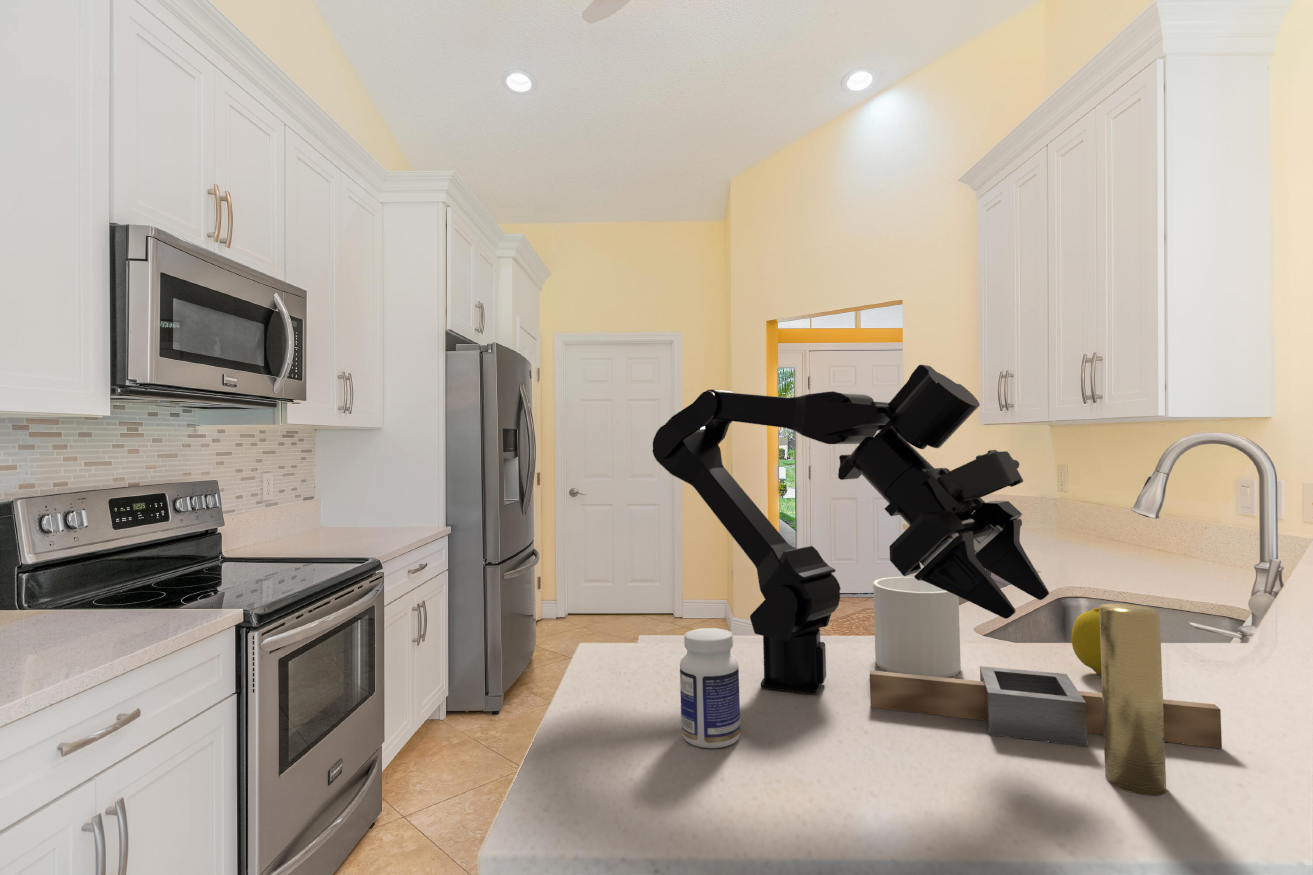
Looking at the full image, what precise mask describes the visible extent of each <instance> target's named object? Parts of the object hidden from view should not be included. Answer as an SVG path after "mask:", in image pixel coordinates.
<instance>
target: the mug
mask: <svg viewBox="0 0 1313 875" xmlns="http://www.w3.org/2000/svg"><path fill="white" fill-rule="evenodd" d="M872 584H873V586H872V587H873V614H874V615H873V617H874V619H873V620H874V621H873V622H874V652H875V653H874V654H875V655H874V656H875V658H874V659H875V663H876V665H877V666H878V667H879V668H880V669H881V668H882V669H881V670H883V671H884V672H892V673H903V674H913V675H923V676H933V677H943V678H953V677H955V676H957V675H958V674H959V673H960V671H962V669H961V668H962V666H961V637H960V636H961V634H960V633H961V632H960V629H961V628H960V606H959V605H960V604H959V602H960V600H959V598H960V597H959V596H957V595H954V594H952V593H950V592H948V591H945V590H943V589H941V588H939V587H936V586H934V585H932V584H929V583H927V582H925V581H922V580H920V581H918V580H917V579H915V578H914V576H893V577H891V576H890V577H883V578H878V579H876V580H874V581H873V583H872Z"/></svg>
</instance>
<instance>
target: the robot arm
mask: <svg viewBox="0 0 1313 875" xmlns="http://www.w3.org/2000/svg"><path fill="white" fill-rule="evenodd" d="M980 406H981V404H980V402H979V400H978V399H977V398H976V396H975V395H974V394H973V393H972V392H971V391H969V390H968V388H966V387H965V386H964V385H962V384H960V383H956V382H955V381H953V380H952V379H950V378H949V377H947V376H946V375H944V374H941V373H940V372H938V371H937V370H935V369H934V368H933V367H932V366H931V365H926V364H919V365H917V367H916V368H915V369H914V370H913V371H912V373H911V375H910V376H909V379H908V380H907V381H906V383H905V384H904V385H903V386H902V387H901V388H900V389H899V391H898V392H897V393H896V394H895V395H894V396H893V398H892V399H891V400H890V401H889V402H884V401H874V399H873V398H872V397H871V396H870V395H867V394H863V393H853V392H845V391H843V392H842V391H835V390H834V391H833V390H832V391H822V392H816V393H815V392H814V393H808V394H803V395H800V396H793V397H787V396H786V397H785V396H773V395H763V394H750V393H737V392H735V391H734V392H733V391H732V390H726V389H724V390H723V389H707V390H706V391H703V392H702V393H701V394H699V395H698V397H696V399H695V400H694V401H693V402H692V403H691V404H689V405H687V406H686V407H684V408H683V409H682V410H680V411H678V412H677V413H675V414H674V415H672V416H671V417H670V418H669V420H667V422H666V423H664V424H663V425H662V426H660V427H659V428H658V430H656V433H655V435H654V437H653V441H652V454H653V456H654V459H655V460H656V462H657V463H658V464H659V465H660V466H662V468H664V470H666V471H667V472H668V474H670V475H672V476H674V477H675V478H677V479H679V480H681V481H683V482H684V483H687V484H689V485H691V487H693V488H694V490H695V491H696V492H697V493H698V495H699V496H700V497H701V499H702V500H703V501H704V502H705V504H706V505H707V507H709V508H710V510H711V511H712V513H713V514H714V515H715V516H716V518H717V519H718V520H719V522H720V523H721V524H722V526H723V527H724V528H725V529H726V530H727V532H728V533H729V535H730V536H731V537H732V538H733V539H734V541H735V542H736V543H737V544H738V546H739V547H740V549H742V551H743V552H744V554H745V555H746V556H747V557H748V559H749V560H750V561H751V563H752V564H753V566H755V567H754V568H756V572H757V579H758V586H759V590H760V592H761V595H762V597H763V598H764V600H763V601H762V602H761V603H760V605H758V607H757V608H755V610H753V611H752V613H751V614H750V616H749V619H750V622H751V626H752V630H753V632H754V634H755V635H758V636H762V642H763V643H762V644H763V646H762V649H763V678H762V680H761V682H760V688H762V689H769V690H777V691H786V692H792V693H793V692H794V693H803V694H813V695H817V694H818V693H819V691H820V688H821V685H823V684H824V683H825V681H826V678H827V656H826V655H827V654H826V651H827V650H826V643H825V641H821V628H825V627H828V626H829V624H830V620H831V619H830V618H831V616H832V613H834V612H835V611H837V608H838V607H839V605H840V600H841V592H840V591H841V586H840V585H841V584H840V583H839V581H838V579H837V578H836V576H835V575H834V573H836V569H835V568H834V567H831V566H830V565H829V564H828V563H827V562H825V560H824V559H823V557H822V556H821V554H820V552H819V551H818V550H817V549H816V548H815V547H814V546H813V545H809V546H808V545H807V546H803V547H800V548H799V547H798V548H796V547H794V546H792V545H791V544H789V543H788V541H786V539H785V538H784V537H783V536H782V535H781V533H780V532H779V530H777V528H776V527H775V526H774V525H773V524H772V522H770V520H769V519H768V518H767V516H766V515H765V514H764V513H763V512H762V510H760V508H759V507H758V506H757V505H756V504H755V502H754V500H752V499H751V498H750V497H749V495H748V493H747V492H745V491H744V489H743V488H742V487H741V485H740V484H738V482H737V481H736V479H735V478H734V477H733V476H732V475H731V474H730V472H729V471H728V470H727V468H725V467H724V465H723V459H722V451H721V448H720V446H719V445H720V443H722V441H723V440H725V438H726V436H727V433H728V430H729V427H730V424H732V422H737V423H742V424H743V423H744V424H753V425H761V426H770V427H776V428H782V429H783V428H784V429H788V430H791V431H794V432H796V433H797V434H799V435H801V436H802V437H806V438H808V439H811V440H814V441H817V442H820V443H822V444H827V445H857V444H858V445H857V446H856V448H855V449H854V450H853V451H852V452H851V454H840V455H839V456H838V458H839V466H838V475H837V478H838V479H839V480H840V481H846V480H855V479H856V480H857V479H859V478H860V477H861V476H862V477H863V478H864V479H865V480H866V481H867V482H868V483H869V484H870V485H871V486H872V487H873V488H874V489H875V490H876V491H877V492H878V493H879V495H880V496H881V497H882V498H883V499H884V501H886V502H887V503H888V505H886V506H885V507H884V511H886V513H888V515H889V516H890V517H895V516H900V517H901V518H902V519H903V521H904V522H906V524H908V525H909V526H908V527H907V528H906V529H905V530H904V531H903V532H902V533H901V534H900V535H899V536H898V537H897V538H896V539H895V540H894V541H893V542H892V543H891V544H890V545H889V561H890V562H891V563H892V565H893V566H894V567H895V568H896V569H897V570H898V571H899V572H900V574H901V575H902V577H908V576H909V575H913V574H915V575H914V576H913V577H914V578H915V579H917V580H918V581H920V580H922V581H925V582H927V583H929V584H932V585H934V586H936V587H939V588H941V589H943V590H945V591H948V592H950V593H952V594H954V595H957V596H959V598H961V599H963V600H966V601H968V602H969V603H972V604H973V605H976V606H978V607H980V608H982V609H984V610H986V611H988V612H990V613H992V614H994V615H996V616H999V617H1001V618H1002V619H1006V620H1007V619H1009V618H1011V617H1012V616H1014V614H1015V613H1016V609H1015V607H1014V605H1013V604H1012V602H1011V601H1010V600H1009V598H1008V597H1007V596H1006V594H1005V592H1003V590H1002V589H1001V588H1000V587H999V585H998V584H997V582H996V581H995V580H994V579H993V577H992V576H991V575H990V574H989V573H988V572H990V573H992V574H993V575H995V576H996V577H999V578H1000V579H1002V580H1004V581H1005V582H1007V583H1008V584H1010V585H1012V586H1013V587H1016V588H1017V589H1019V590H1020V591H1023V592H1024V593H1026V594H1028V595H1029V596H1031V597H1033V598H1034V599H1037V600H1038V601H1042V600H1044V599H1046V598H1047V597H1048V596H1049V594H1050V591H1049V590H1048V588H1047V586H1046V585H1045V583H1044V581H1043V580H1042V578H1041V576H1040V575H1039V573H1038V572H1037V569H1036V568H1035V566H1034V565H1033V563H1032V561H1031V560H1030V557H1028V555H1027V552H1025V549H1024V547H1023V546H1022V543H1021V540H1020V537H1021V527H1022V526H1023V521H1022V518H1021V517H1022V516H1023V513H1022V512H1021V511H1020V510H1019V509H1018V508H1017V507H1016V506H1014V505H1013V504H1012V503H1011V502H1010V501H1009V500H991V501H987V502H985V500H984V499H983V497H985V496H987V495H991V494H993V493H995V492H998V491H1000V490H1002V489H1004V488H1007V487H1011V488H1012V487H1015V486H1017V485H1019V484H1022V483H1023V482H1024V479H1023V478H1022V475H1021V473H1020V472H1019V470H1018V469H1019V468H1020V463H1019V461H1018V460H1017V459H1014V458H1013V457H1012V456H1011V454H1010V452H1008V451H1007V450H1006V451H998V450H996V449H989V450H988V451H987V453H985V454H978V455H976V457H975V459H973V460H971V461H968V462H967V463H965V464H962V465H961V466H958V467H956V468H954V469H951V470H950V469H949V468H946V467H938V468H937V467H934V466H932V463H930V462H929V461H928V460H927V459H926V458H924V456H923V455H922V454H920V453H919V452H918V451H917V450H916V449H920V450H925V449H926V448H927V447H928V446H929V447H930V448H933V449H940V448H941V447H942V446H943V445H944V444H945V443H946V442H947V441H948V440H949V439H950V437H951V436H953V434H954V433H955V432H956V431H957V430H958V429H959V428H960V427H961V426H962V425H963V424H964V423H965V422H966V421H967V420H968V418H970V417H971V416H972V414H973V413H974V412H975V411H976V410H977V409H978V408H979V407H980ZM922 566H923V567H922Z"/></svg>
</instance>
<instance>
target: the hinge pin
mask: <svg viewBox="0 0 1313 875" xmlns="http://www.w3.org/2000/svg"><path fill="white" fill-rule="evenodd" d="M1098 608H1099V615H1100V643H1101V671H1102V675H1101V693H1102V699H1103V727H1104V735H1103V745H1104V746H1103V749H1104V752H1103V753H1104V777H1105V779H1106V780H1107V782H1109V783H1110V784H1111V785H1113V786H1115V787H1117V788H1118V789H1120V790H1123V791H1126V792H1130V793H1133V794H1136V795H1142V796H1153V797H1154V796H1161V795H1164V794H1165V793H1167V770H1166V748H1165V747H1166V742H1165V739H1164V712H1163V699H1164V695H1163V694H1164V691H1163V667H1162V666H1163V663H1162V660H1163V659H1162V635H1161V613H1160V611H1159V610H1158V609H1155V608H1151V607H1147V606H1143V605H1136V604H1128V603H1103V604H1099V606H1098Z"/></svg>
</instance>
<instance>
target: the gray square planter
mask: <svg viewBox="0 0 1313 875" xmlns="http://www.w3.org/2000/svg"><path fill="white" fill-rule="evenodd" d="M979 678H980V679H979V681H983V682H984V685H985V717H986V721H985V723H986V727H987V731H988V734H989V735H990V736H996V737H1006V738H1012V739H1013V738H1014V739H1020V738H1022V740H1028V739H1029V741H1036V740H1038V741H1039V740H1040V741H1039V742H1044V741H1049V742H1048V743H1052V742H1056V743H1055V744H1059V745H1060V744H1061V745H1062V744H1063V745H1070V746H1077V747H1078V746H1079V747H1086V748H1088V746H1089V745H1088V733H1087V714H1086V702H1085V700H1084V699H1083V697H1082V696H1081V694H1080V693H1079V691H1080V690H1078V689H1077V687H1076V686H1075V684H1074V683H1073V681H1072V680H1071V678H1070V677H1069V675H1068V674H1067V673H1059V672H1051V671H1050V672H1049V671H1048V672H1047V671H1039V670H1038V671H1037V670H1036V671H1035V670H1026V669H1015V668H1005V667H994V666H984V665H983V666H982V665H980V666H979Z"/></svg>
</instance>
